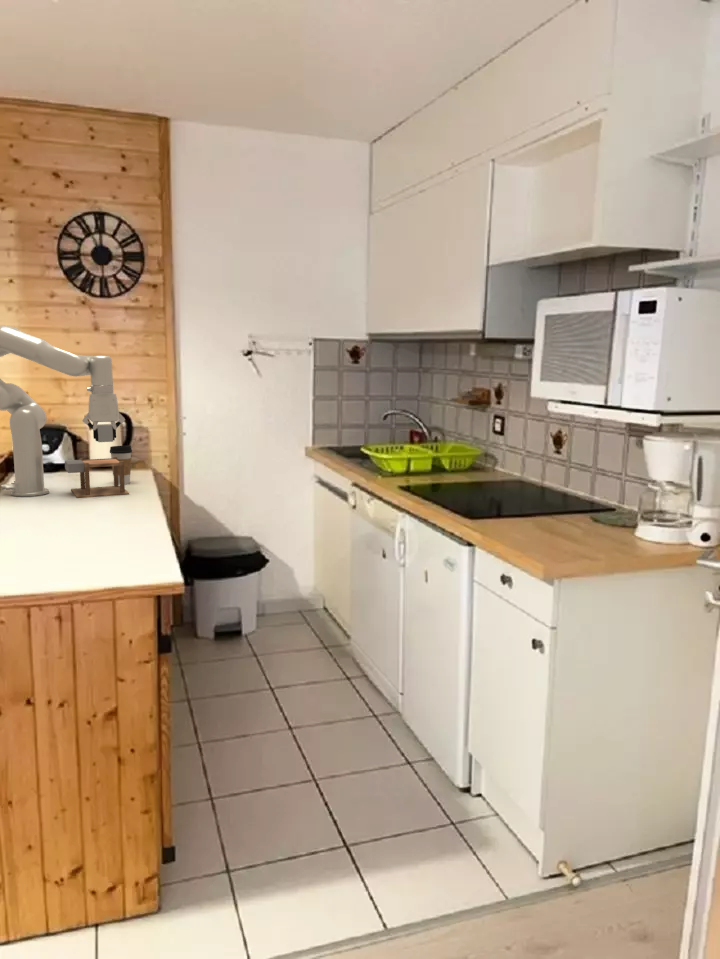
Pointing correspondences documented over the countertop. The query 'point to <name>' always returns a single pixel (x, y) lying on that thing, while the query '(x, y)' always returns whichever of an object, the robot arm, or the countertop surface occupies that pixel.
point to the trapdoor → (78, 465)
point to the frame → (101, 491)
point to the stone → (105, 433)
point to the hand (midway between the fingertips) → (105, 439)
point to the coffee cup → (123, 455)
